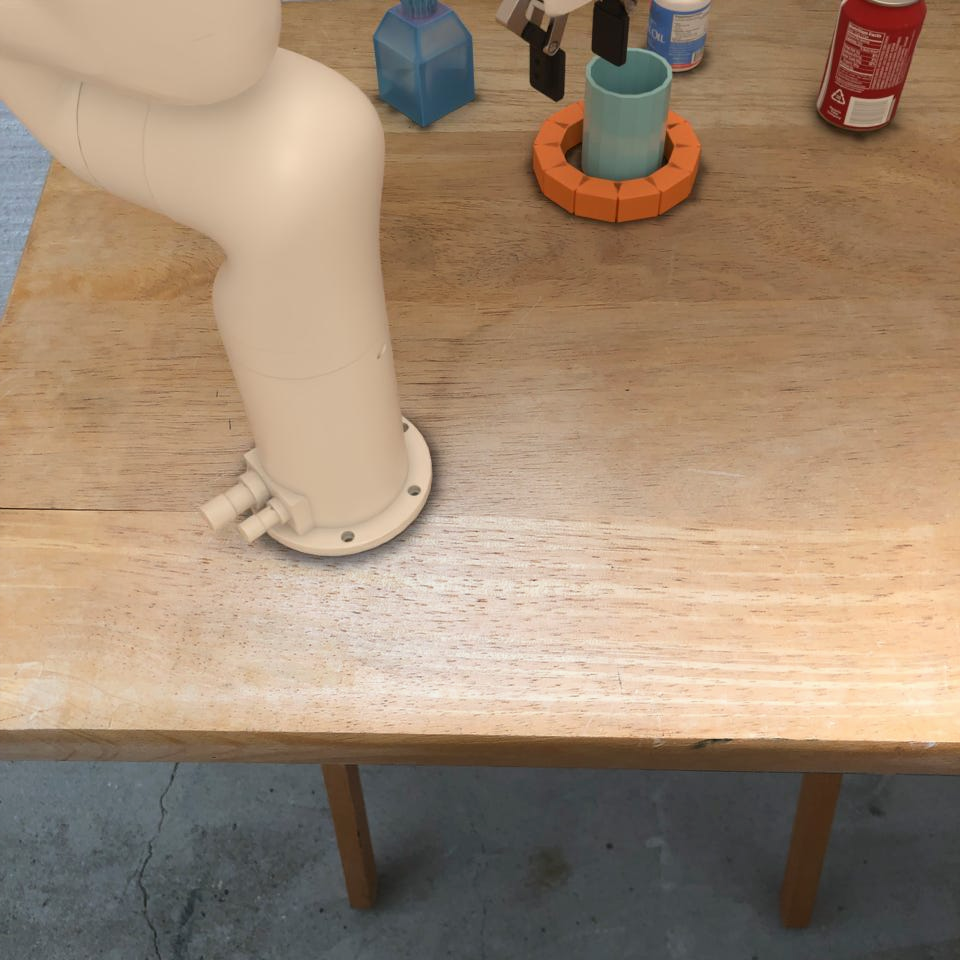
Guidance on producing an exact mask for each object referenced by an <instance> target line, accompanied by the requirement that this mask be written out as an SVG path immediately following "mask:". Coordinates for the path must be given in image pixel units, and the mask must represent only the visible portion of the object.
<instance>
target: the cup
mask: <svg viewBox="0 0 960 960" xmlns="http://www.w3.org/2000/svg"><path fill="white" fill-rule="evenodd" d="M584 81H585V82H584V97H583V98H584V100H583V101H584V119H583V139H582V142H581V143H582V144H581V161H580V163H581V172H582V173H583V174H585V175H586V176H589V177H594V178H600V179H605V180H610V181H616V182H620V181H626V180H633V179H639V178H645V177H648V176H650V175H651V174H653V173H654V172H656V171H658V170H659V169H661V168H662V167H663V159H664V153H663V152H664V144H665V136H666V127H667V119H668V111H669V110H670V102H671V93H672V85H673V72H672V67H671V66H670V65H669V63H668V62H667V61H666V59H665V58H663V57H661V56H660V55H658V54H656V53H654V52H652V51H648V50H646V49H645V48H644V49H643V48H640V47H627V57H626V63H625V64H624V65H622V66H620V67H618V66H615V65H613V64H611V63H610V62H608V61H606V60H605V59H603V58H601V57H600V56H598V55H595V56H593V57H592V58H591V59H590V61H589V62H588V63H587V65H586V67H585V79H584Z"/></svg>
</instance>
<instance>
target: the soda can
mask: <svg viewBox="0 0 960 960" xmlns="http://www.w3.org/2000/svg"><path fill="white" fill-rule="evenodd" d="M927 11H928V7H927V3H926V1H925V0H840V4H839V9H838V12H837V15H836V16H837V17H836V20H835V21H836V22H835V25H834V28H833V33H832V37H831V42H830V44H829V45H830V46H829V48H828V49H829V50H828V53H827V58H826V62H825V65H824V70H823V74H822V78H821V82H820V87H819V91H818V95H817V99H816V110H817V112H818V114H819V115H820V116H821V118H822V119H824V121H826V122H827V123H829V124H830V125H833V126H834V127H836V128H839V129H842V130H844V131H849V132H871V131H876V130H880V129H881V128H883V127H886V126H887V125H889V124H890V123H891V122H892V121H893V120H894V119H895V116H896V114H897V113H896V112H897V110H898V106H899V103H900V100H901V97H902V93H903V90H904V88H905V84H906V80H907V77H908V75H909V71H910V68H911V64H912V61H913V58H914V55H915V51H916V48H917V45H918V42H919V39H920V35H921V33H922V30H923V26H924V23H925V20H926V16H927V13H928V12H927Z"/></svg>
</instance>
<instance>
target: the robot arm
mask: <svg viewBox="0 0 960 960" xmlns="http://www.w3.org/2000/svg"><path fill="white" fill-rule="evenodd" d="M592 1H594V0H502V1H501V3H500V5H499V7H498V9H497V11H496V12H495V16H494V20H495V21H496V23H497V24H499V25H501V26H502V27H504V29H505V28H506V29H507V30H508V31H511V32H512V33H513V34H515V35H516V36H517V37H518V38H520V39H522V40H523V42H525V43H527V44H529V56H528V57H529V58H528V59H529V60H528V61H529V71H528V72H529V74H528V75H529V77H528V78H529V84H530V86H531V88H533V89H534V90H536V91H538V93H540V94H542V95H544V96H545V97H547V98H548V99H550V100H551V101H553V102H555V103H558V102H560V101H562V100H563V99H564V96H565V93H566V92H565V91H566V59H567V58H566V57H567V54H566V51H565V50H564V49H562V48H561V42H562V39H563V37H564V32H565V29H566V25H567V21H568V17H569V13H570V12H572V11H575V10H577V9H579V8H581V7H583V6H585V5H587V4H589V3H591V2H592ZM638 3H639V1H638V0H596V1H594V2H593V9H592V25H591V43H590V44H591V45H590V50H591V52H592V53H593V54H595V56H597V55H598V56H600V57H601V58H603V59H605V60H606V61H608V62H610V63H611V64H613V65H615V66H618V67H620V66H622V65H624V64H625V63H626V57H627V48H628V44H629V31H630V19H631V17H630V16H629V15H631V14H633V13H634V12H635V11H636V9H637V8H638ZM544 14H545V16H547V17H549V21H548V25H547V28H546V30H545V29H543V28H542V27H541V26H542V23H543V18H544ZM282 18H283V17H282V1H281V0H0V101H1V103H3V104H4V105H5V106H6V108H7V109H8V110H9V111H10V112H11V113H12V115H14V116H15V118H16V119H17V120H18V121H19V122H20V123H21V124H22V126H24V127H25V128H26V130H27V131H28V132H29V133H30V134H31V135H32V136H33V138H35V140H37V142H38V143H39V144H40V145H41V146H42V147H43V148H44V149H45V150H46V151H47V152H48V153H49V154H50V155H51V156H52V157H53V158H54V159H56V161H57V162H59V164H60V165H62V166H63V167H64V168H65V169H67V170H68V171H69V172H71V173H72V174H73V175H74V176H76V177H77V178H78V179H80V180H82V181H83V182H85V183H87V184H89V185H91V186H92V187H95V188H96V189H99V190H101V191H102V192H105V193H107V194H109V195H112V196H114V197H116V198H119V199H122V200H125V201H127V202H129V203H131V204H133V205H137V206H140V207H142V208H145V209H146V210H149V211H151V212H154V213H156V214H159V215H161V216H164V217H166V218H169V219H170V220H171V221H173V222H175V223H177V224H180V225H182V226H184V227H187V228H190V229H192V230H194V231H196V232H198V233H200V234H202V235H204V236H206V238H207V237H208V238H209V239H211V240H212V241H214V242H215V243H216V244H217V245H219V246H220V247H221V249H222V250H223V251H224V253H225V255H226V258H225V259H224V261H223V262H222V264H221V265H220V267H219V269H218V270H217V272H216V274H215V276H214V280H213V283H212V290H211V303H212V305H211V306H212V312H213V316H214V320H215V323H216V327H217V330H218V334H219V336H220V340H221V343H222V345H223V347H224V350H225V353H226V357H227V359H228V363H229V365H230V368H231V373H232V375H233V378H234V381H235V385H236V387H237V390H238V395H239V398H240V400H241V404H242V407H243V409H244V413H245V416H246V420H247V422H248V425H249V429H250V432H251V435H252V438H253V442H254V445H255V447H253V448H251V449H250V450H249V451H247V452H245V453H244V454H243V459H244V461H245V464H246V471H245V472H243V473H242V474H240V475H238V476H237V477H236V482H237V483H236V484H234V485H233V486H231V487H230V488H229V489H226V490H225V491H224V492H219V493H218V494H216V495H214V496H213V497H212V498H210V499H208V500H207V501H205V502H204V503H202V504H201V505H199V506H197V511H198V513H199V516H200V518H202V521H204V523H205V525H206V526H207V527H208V528H209V529H210V531H212V532H213V533H216V532H218V531H219V530H221V529H222V528H224V527H226V526H227V525H228V524H230V523H231V522H232V521H234V520H236V519H237V518H238V516H240V515H241V514H243V513H244V512H246V511H247V510H248V509H250V510H251V512H252V515H250V516H249V517H247V518H246V519H244V520H243V521H241V522H240V523H238V524H237V525H236V526H237V529H238V530H239V531H238V532H239V533H240V534H241V536H242V537H243V539H244V540H245V541H246V542H247V543H248V544H250V543H252V542H253V541H255V540H256V539H258V538H259V537H261V536H262V535H264V534H265V533H267V535H268V536H270V537H271V538H272V539H274V540H275V541H276V542H278V543H280V544H281V545H283V546H285V547H286V548H289V549H292V550H294V551H297V552H300V553H304V554H309V555H314V556H322V557H323V556H324V557H341V556H346V555H355V554H359V553H362V552H365V551H369V550H372V549H374V548H377V547H378V546H381V545H383V544H385V543H387V542H389V541H391V540H393V538H395V537H397V536H398V535H399V534H401V533H402V532H403V531H405V530H406V529H407V528H408V527H409V526H410V525H411V523H413V522H414V521H415V520H416V519H417V517H418V516H419V514H420V513H421V511H422V510H423V508H424V507H425V505H426V503H427V500H428V497H429V495H430V493H431V489H432V483H433V466H432V459H431V458H432V457H431V453H430V448H429V446H428V444H427V442H426V440H425V438H424V436H423V434H422V433H421V432H420V431H419V430H418V428H417V427H416V426H415V424H413V423H412V422H411V421H410V420H408V419H407V417H405V416H404V415H402V409H401V403H400V396H399V395H400V394H399V388H398V382H397V374H396V366H395V360H394V353H393V345H392V338H391V331H390V324H389V318H388V317H389V316H388V310H387V302H386V295H385V294H386V293H385V287H384V286H385V285H384V279H383V271H382V270H383V269H382V261H381V250H380V249H381V246H380V222H381V207H382V195H383V187H384V178H385V177H384V176H385V166H386V163H385V162H386V140H385V138H386V137H385V133H384V132H385V131H384V127H383V124H382V121H381V118H380V116H379V113H378V111H377V110H376V108H375V106H374V104H373V102H371V100H370V98H369V97H368V96H367V95H366V94H365V93H364V92H363V91H362V90H361V89H360V88H359V87H358V86H357V85H356V84H355V83H354V82H353V81H351V80H350V79H348V77H345V76H344V75H343V74H341V73H340V72H338V71H336V70H335V69H333V68H331V67H329V66H328V65H325V64H323V63H321V62H320V61H317V60H316V59H314V58H312V57H311V58H310V57H308V56H305V55H304V54H301V53H298V52H295V51H292V50H289V49H286V48H283V47H280V46H279V43H280V40H281V31H282V24H283V22H282Z"/></svg>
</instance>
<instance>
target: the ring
mask: <svg viewBox="0 0 960 960" xmlns="http://www.w3.org/2000/svg"><path fill="white" fill-rule="evenodd" d="M583 119H584V100H578V101H577V102H572V103H571V104H569V105H567V106H566V107H564V108H562V109H561V110H558V111H557V112H555V113H554V114H552V115H550V116H548V117H547V118H546V119H545V120H544V121H543V123H542V125H541V127H540V129H539V131H538V133H537V136H536V138H535V140H534V142H533V148H532V149H533V151H532V153H533V154H532V155H533V157H532V158H533V160H532V161H533V163H532V167H533V171H534V174H535V177H536V179H537V182H538V185H539V188H540V190H541V193H542V194H543V195H544V196H545V197H546V198H548V199H549V200H551V201H552V202H554V203H555V204H556V205H558V206H560V207H561V208H563V209H564V210H566V211H567V212H568V213H570V214H574V216H578V217H583V218H588V219H594V220H598V221H603V222H609V223H615V222H617V223H623V222H631V221H636V220H643V219H649V218H654V217H655V218H656V217H658V215H659V216H661V215H663V214H664V213H665V212H667V211H669V210H670V209H672V208H673V207H675V206H676V205H678V204H679V203H681V202H682V201H684V200H685V199H687V198H688V197H689V195H690V194H691V192H692V189H693V186H694V183H695V180H696V177H697V174H698V171H699V167H700V157H701V153H702V144H701V142H700V140H699V138H698V137H697V135H696V133H695V131H694V129H693V127H692V125H691V124H690V122H689V121H687V119H686V118H684V117H683V116H681V115H679V114H677V113H676V112H674V111H672V110H671V109H669V111H668V119H667V127H666V136H665V144H664V152H663V156H664V157H665V160H666V161H667V164H664V166H662V167H661V169H659V170H658V171H656V172H654V173H653V174H651V175H650V176H648V177H645V178H639V179H633V180H626V181H620V182H616V181H610V180H605V179H600V178H594V177H589V176H586V175H585V174H584V173H583V171H580V170H579V169H577V168H576V167H574V166H573V165H571V164H570V163H568V162H567V160H566V157H565V156H566V154H567V152H568V151H570V149H572V148H574V147H575V146H578V144H581V143H582V139H583Z"/></svg>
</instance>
